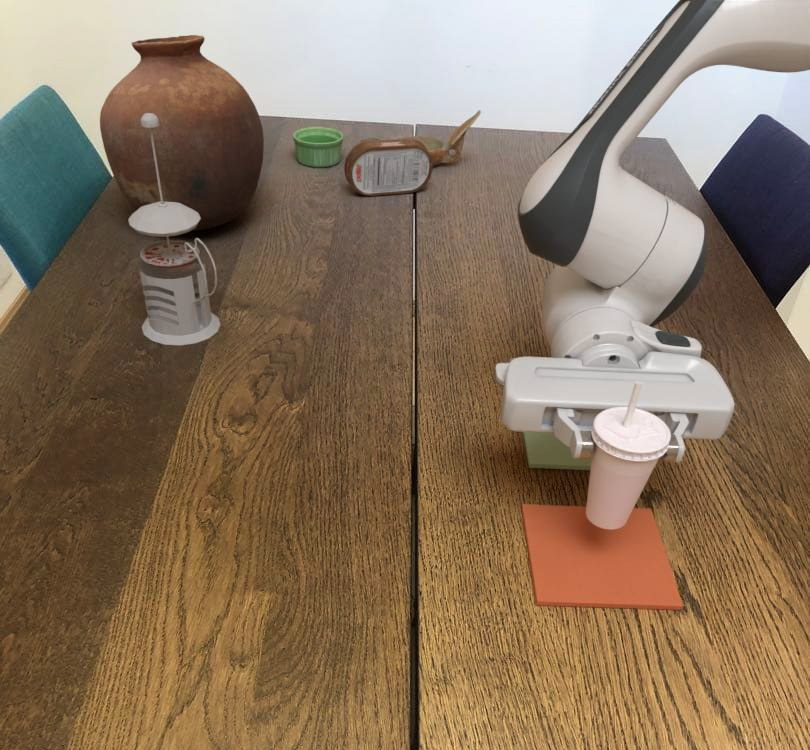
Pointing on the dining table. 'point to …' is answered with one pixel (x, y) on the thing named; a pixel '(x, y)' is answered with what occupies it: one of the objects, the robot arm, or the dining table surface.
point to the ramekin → (318, 146)
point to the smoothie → (622, 460)
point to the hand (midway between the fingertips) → (629, 454)
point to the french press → (172, 298)
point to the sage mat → (551, 453)
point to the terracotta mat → (597, 560)
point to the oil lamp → (441, 149)
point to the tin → (388, 167)
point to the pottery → (183, 132)
